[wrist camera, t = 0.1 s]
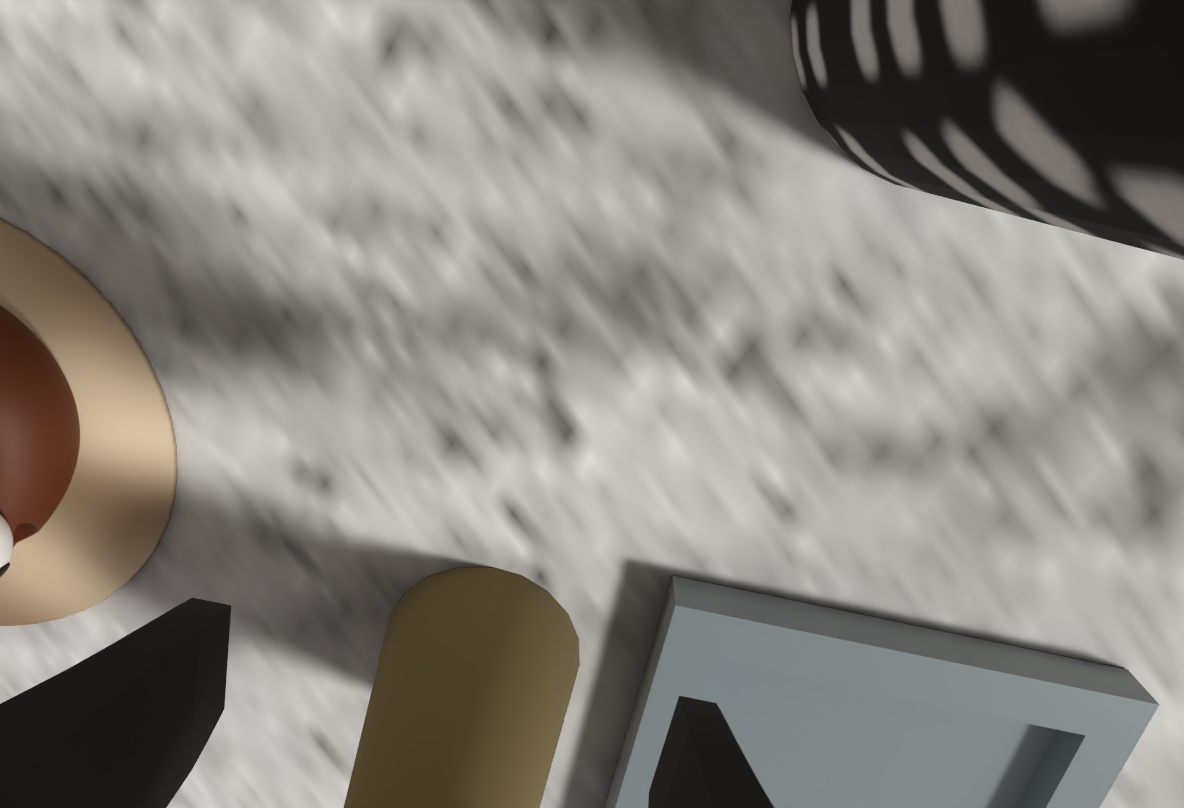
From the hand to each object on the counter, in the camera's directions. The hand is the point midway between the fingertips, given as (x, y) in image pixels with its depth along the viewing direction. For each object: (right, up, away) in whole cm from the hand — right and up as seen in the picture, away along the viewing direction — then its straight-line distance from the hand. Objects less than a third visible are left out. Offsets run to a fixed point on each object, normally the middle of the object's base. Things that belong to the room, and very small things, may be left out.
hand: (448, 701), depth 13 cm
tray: (+9, -11, +14) cm, 20 cm away
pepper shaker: (-1, -3, +12) cm, 12 cm away
